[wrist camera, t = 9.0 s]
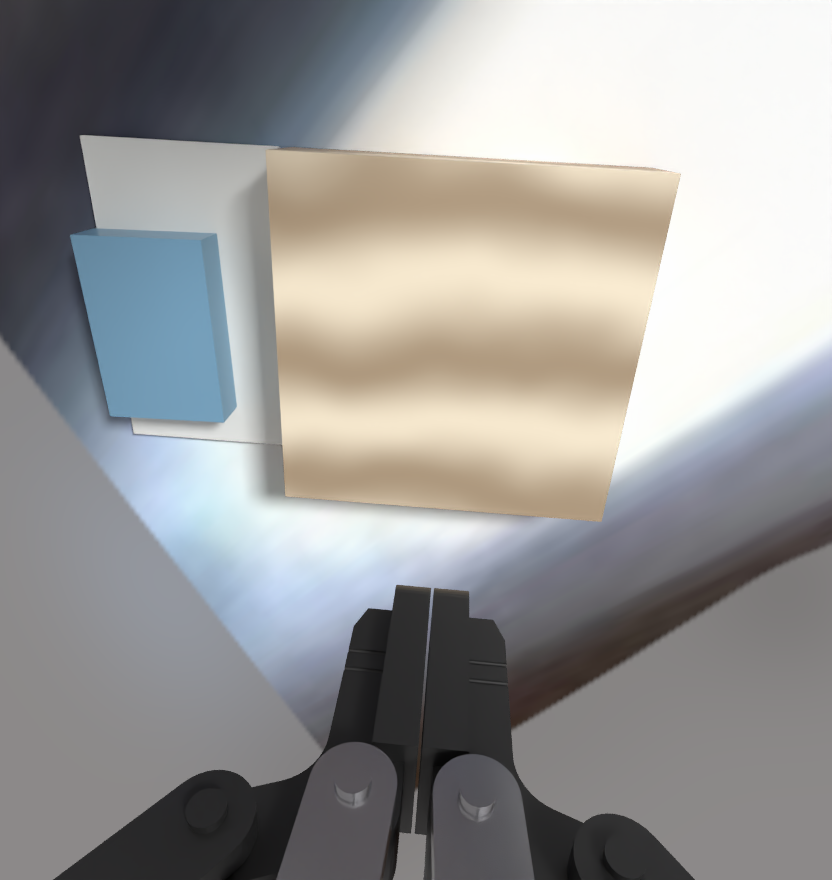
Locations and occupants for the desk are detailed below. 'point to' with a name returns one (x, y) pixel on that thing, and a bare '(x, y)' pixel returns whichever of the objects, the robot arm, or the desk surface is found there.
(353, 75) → the desk surface
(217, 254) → the blue flat block
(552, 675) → the desk surface
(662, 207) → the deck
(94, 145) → the mat
